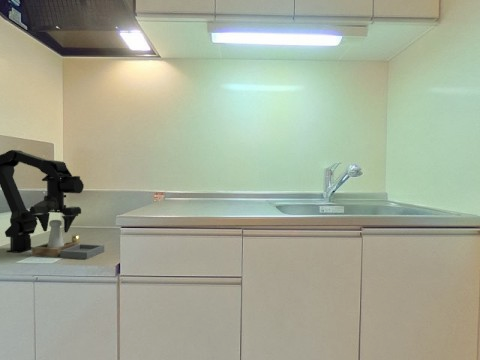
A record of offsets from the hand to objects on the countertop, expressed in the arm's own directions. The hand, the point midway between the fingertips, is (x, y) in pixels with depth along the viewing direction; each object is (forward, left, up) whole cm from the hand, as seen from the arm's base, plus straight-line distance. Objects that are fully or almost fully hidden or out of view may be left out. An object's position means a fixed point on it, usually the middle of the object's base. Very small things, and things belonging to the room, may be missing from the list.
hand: (55, 231), depth 121 cm
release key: (0, +8, -8) cm, 12 cm away
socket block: (0, 0, -8) cm, 8 cm away
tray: (+12, 0, -8) cm, 15 cm away
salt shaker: (0, 0, -9) cm, 9 cm away
